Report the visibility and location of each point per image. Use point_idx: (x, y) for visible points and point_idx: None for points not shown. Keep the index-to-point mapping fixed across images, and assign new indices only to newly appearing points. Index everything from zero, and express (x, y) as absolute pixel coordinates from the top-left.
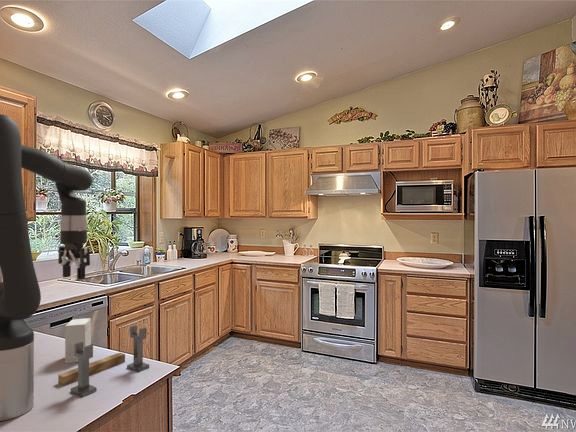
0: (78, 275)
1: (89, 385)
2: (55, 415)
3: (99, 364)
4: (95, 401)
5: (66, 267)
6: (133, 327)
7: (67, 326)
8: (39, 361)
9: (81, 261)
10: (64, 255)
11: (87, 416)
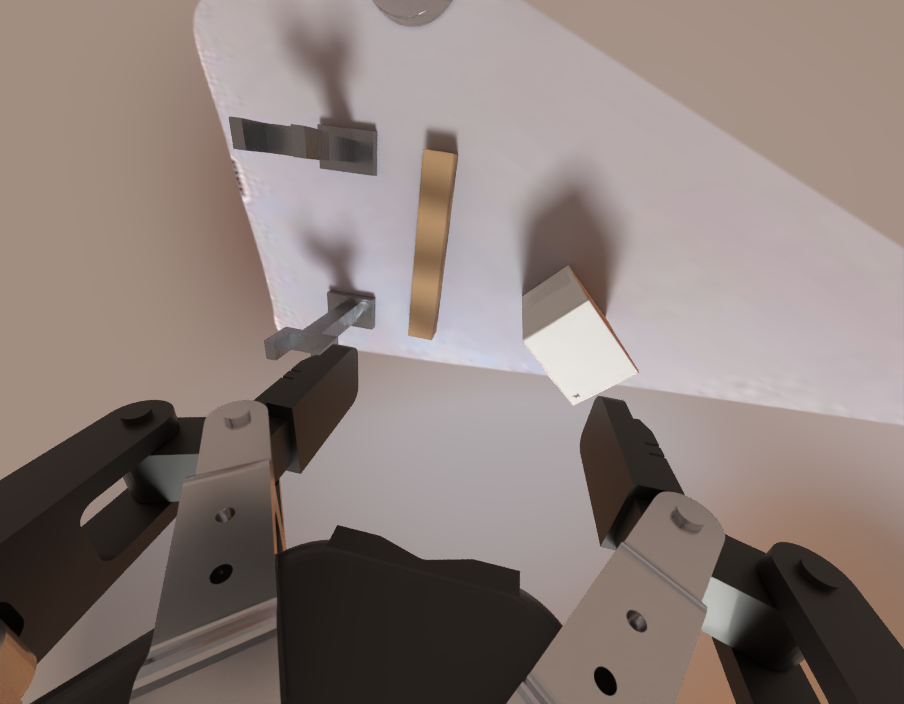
0: (318, 360)
1: (345, 168)
2: (287, 16)
3: (414, 261)
4: None
5: (616, 495)
6: (313, 354)
7: (579, 304)
8: (673, 245)
9: (84, 449)
10: (618, 688)
11: (222, 58)
